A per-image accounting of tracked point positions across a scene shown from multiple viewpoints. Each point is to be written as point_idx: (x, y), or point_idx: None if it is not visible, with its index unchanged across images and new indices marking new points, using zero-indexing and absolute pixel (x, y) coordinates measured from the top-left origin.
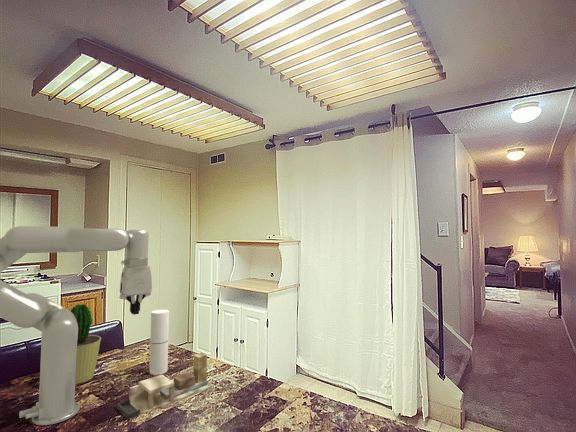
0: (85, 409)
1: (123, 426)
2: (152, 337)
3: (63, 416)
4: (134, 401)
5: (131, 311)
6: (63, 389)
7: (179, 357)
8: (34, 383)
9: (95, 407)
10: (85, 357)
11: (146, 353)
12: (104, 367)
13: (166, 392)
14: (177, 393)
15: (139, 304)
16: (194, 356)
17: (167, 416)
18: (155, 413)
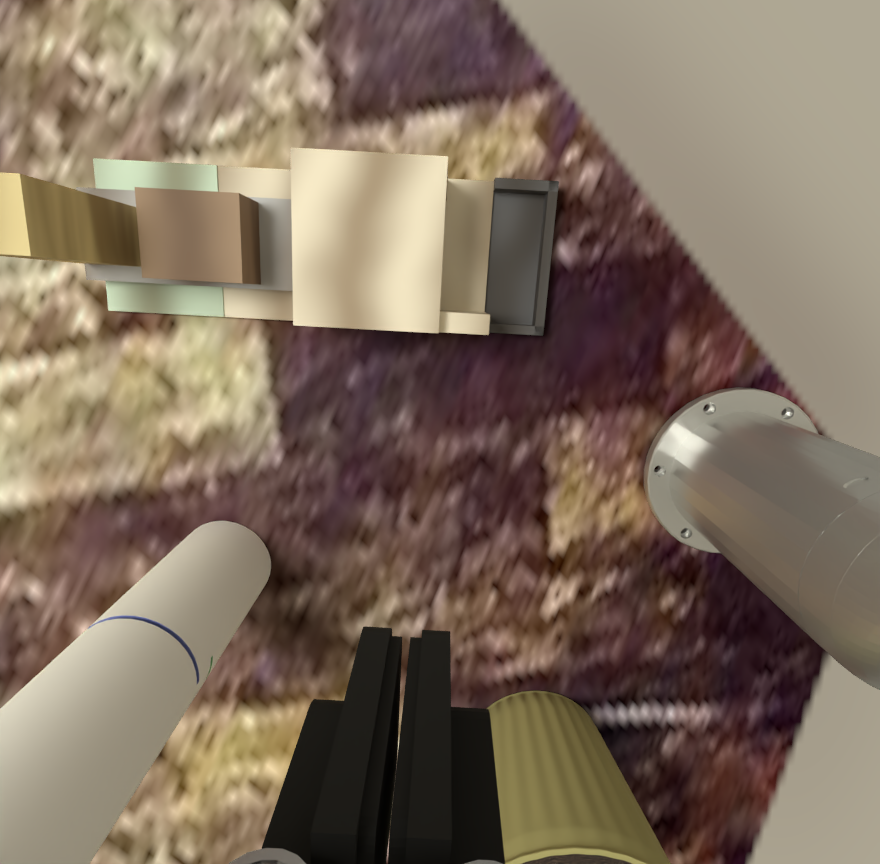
0: (632, 427)
1: (592, 138)
2: (173, 693)
3: (739, 401)
4: (465, 310)
5: (488, 717)
6: (818, 442)
7: (66, 643)
8: (669, 809)
9: (597, 413)
10: (556, 781)
11: (185, 800)
12: None
13: None
14: (277, 200)
15: (291, 823)
16: (35, 242)
17: (410, 55)
18: (437, 135)
